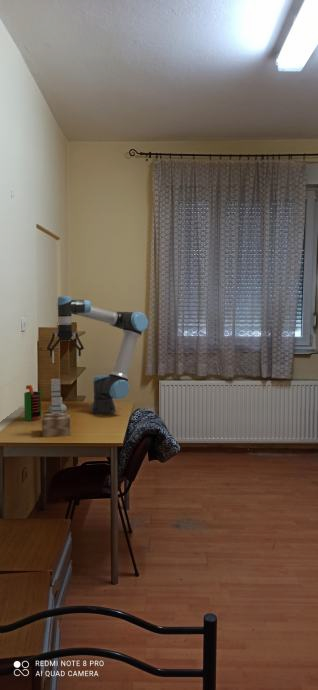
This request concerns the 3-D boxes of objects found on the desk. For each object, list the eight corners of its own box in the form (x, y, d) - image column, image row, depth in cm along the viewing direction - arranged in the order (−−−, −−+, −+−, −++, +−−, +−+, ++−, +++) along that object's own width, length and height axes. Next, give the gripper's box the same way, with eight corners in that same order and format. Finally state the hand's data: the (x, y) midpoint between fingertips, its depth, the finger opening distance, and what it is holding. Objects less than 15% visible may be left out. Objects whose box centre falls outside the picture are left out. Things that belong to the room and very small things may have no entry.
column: (61, 416, 272) (60, 378, 270) (60, 418, 267) (60, 379, 266) (52, 416, 271) (51, 378, 269) (51, 418, 266) (50, 380, 265)
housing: (70, 429, 278) (70, 410, 277) (70, 435, 264) (69, 416, 263) (43, 430, 276) (43, 411, 275) (42, 437, 262) (41, 417, 261)
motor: (35, 421, 296) (35, 387, 294) (21, 421, 298) (20, 386, 296) (43, 417, 306) (42, 384, 304) (29, 417, 308) (28, 384, 306)
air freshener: (68, 412, 321) (67, 396, 321) (64, 415, 313) (64, 398, 312) (51, 411, 322) (50, 396, 322) (46, 414, 314) (46, 398, 313)
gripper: (87, 323, 291) (88, 361, 293) (42, 324, 287) (43, 362, 289) (87, 324, 284) (88, 362, 286) (41, 324, 280) (42, 363, 282)
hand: (65, 362), depth 287 cm, fingers open, 13 cm apart
